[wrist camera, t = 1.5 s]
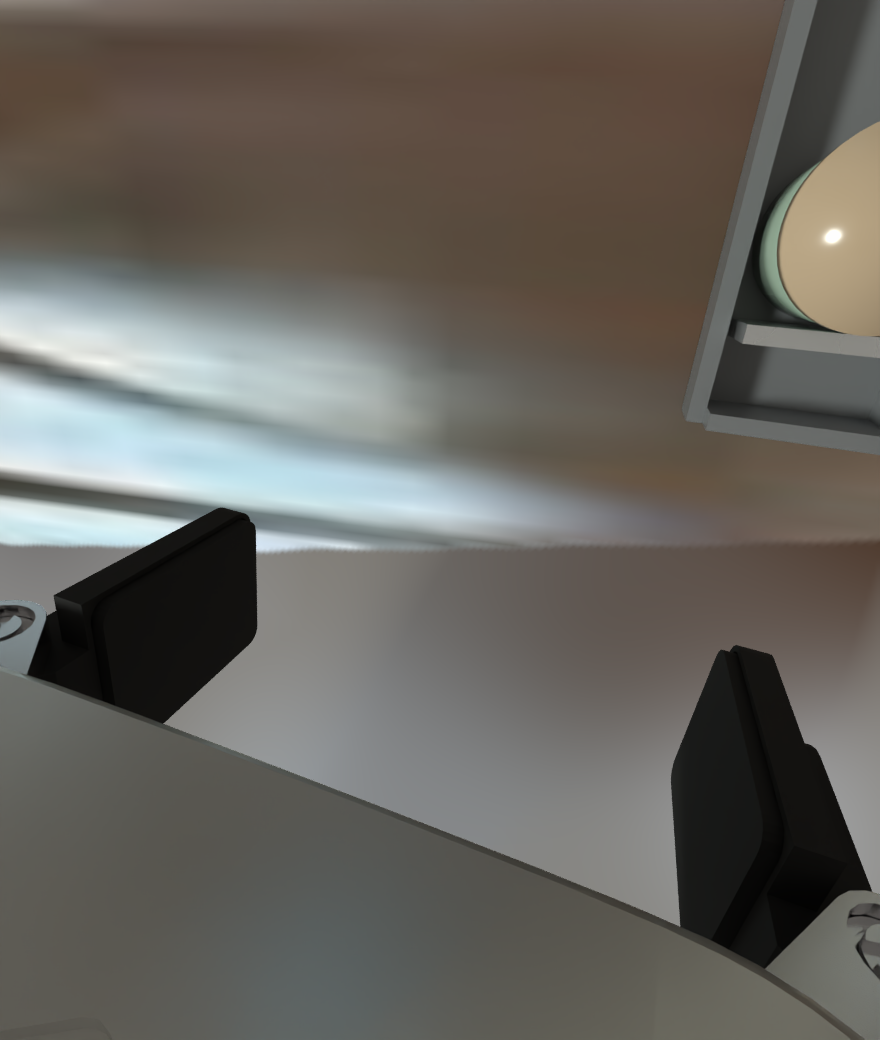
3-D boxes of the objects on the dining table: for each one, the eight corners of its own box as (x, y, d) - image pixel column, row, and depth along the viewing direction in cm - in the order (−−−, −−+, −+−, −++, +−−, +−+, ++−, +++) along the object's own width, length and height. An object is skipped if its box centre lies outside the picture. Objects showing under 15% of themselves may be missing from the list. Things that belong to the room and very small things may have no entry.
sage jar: (776, 147, 26) (821, 105, 19) (965, 152, 24) (1079, 107, 18) (731, 316, 29) (756, 325, 22) (895, 331, 27) (973, 346, 21)
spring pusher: (732, 318, 28) (747, 324, 25) (892, 333, 27) (936, 342, 23) (727, 334, 29) (742, 343, 25) (885, 351, 27) (928, 363, 23)
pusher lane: (822, -145, 22) (861, -237, 18) (1120, -172, 20) (1240, -284, 16) (681, 409, 31) (688, 427, 27) (875, 435, 29) (913, 459, 25)
